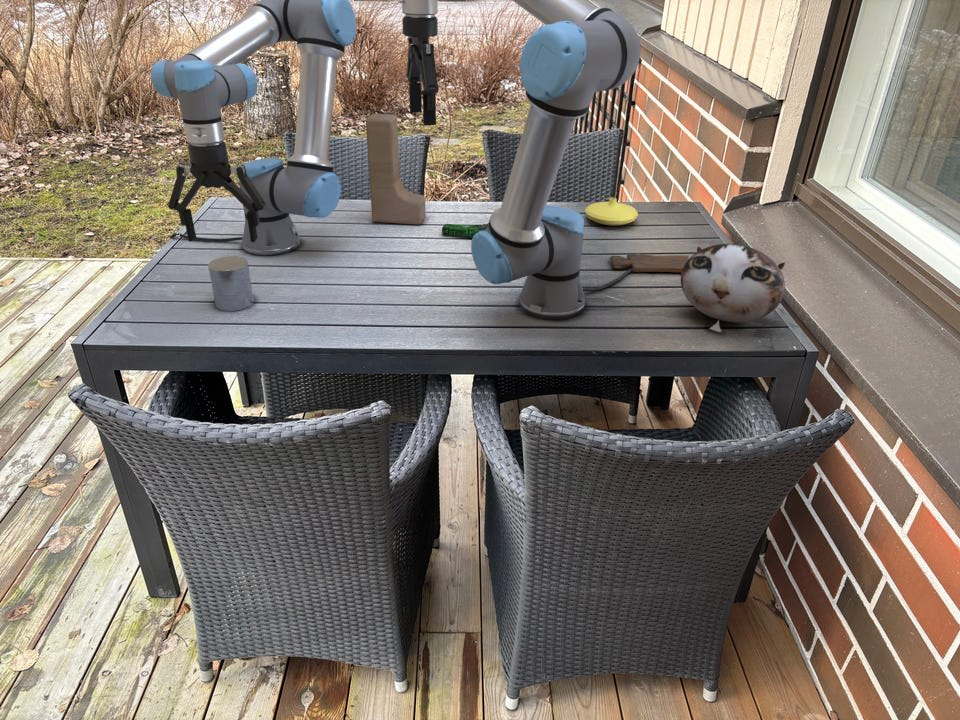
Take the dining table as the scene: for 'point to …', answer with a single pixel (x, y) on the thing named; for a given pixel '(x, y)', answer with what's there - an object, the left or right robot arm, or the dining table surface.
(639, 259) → the dark wooden board
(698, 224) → the dining table surface
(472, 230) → the handgun
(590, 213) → the yellow knobbed lid
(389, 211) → the decorative block
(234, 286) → the can
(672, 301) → the dining table surface
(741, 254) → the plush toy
